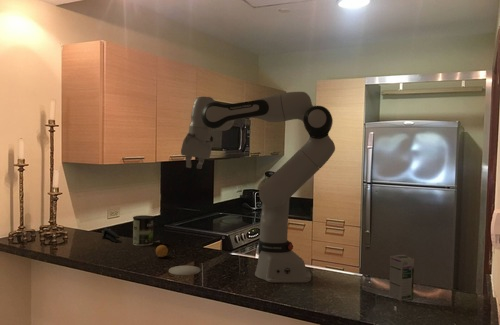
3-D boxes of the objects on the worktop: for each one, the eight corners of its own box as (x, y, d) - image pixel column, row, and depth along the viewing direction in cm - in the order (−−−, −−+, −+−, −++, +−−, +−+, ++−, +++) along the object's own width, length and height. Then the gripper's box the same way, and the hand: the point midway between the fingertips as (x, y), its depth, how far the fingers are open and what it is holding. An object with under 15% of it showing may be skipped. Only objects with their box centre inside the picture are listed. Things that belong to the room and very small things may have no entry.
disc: (203, 267, 172) (203, 266, 172) (196, 276, 159) (196, 275, 159) (174, 265, 174) (174, 264, 174) (164, 274, 161) (164, 273, 161)
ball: (169, 255, 189) (169, 244, 189) (165, 258, 183) (165, 246, 183) (157, 255, 189) (158, 243, 189) (153, 258, 184) (153, 246, 184)
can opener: (99, 237, 223) (99, 227, 223) (111, 236, 227) (111, 226, 227) (110, 244, 209) (111, 233, 209) (124, 242, 214) (124, 231, 214)
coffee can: (156, 242, 215) (156, 215, 215) (147, 246, 205) (148, 218, 205) (138, 240, 217) (138, 214, 217) (128, 245, 207) (129, 217, 207)
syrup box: (400, 301, 138) (402, 259, 138) (388, 295, 144) (390, 255, 143) (413, 299, 141) (415, 257, 140) (400, 293, 146) (402, 253, 146)
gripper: (194, 133, 159) (188, 168, 158) (215, 139, 178) (210, 170, 178) (179, 131, 161) (174, 165, 161) (202, 137, 180) (198, 168, 180)
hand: (193, 168), depth 169 cm, fingers open, 8 cm apart
